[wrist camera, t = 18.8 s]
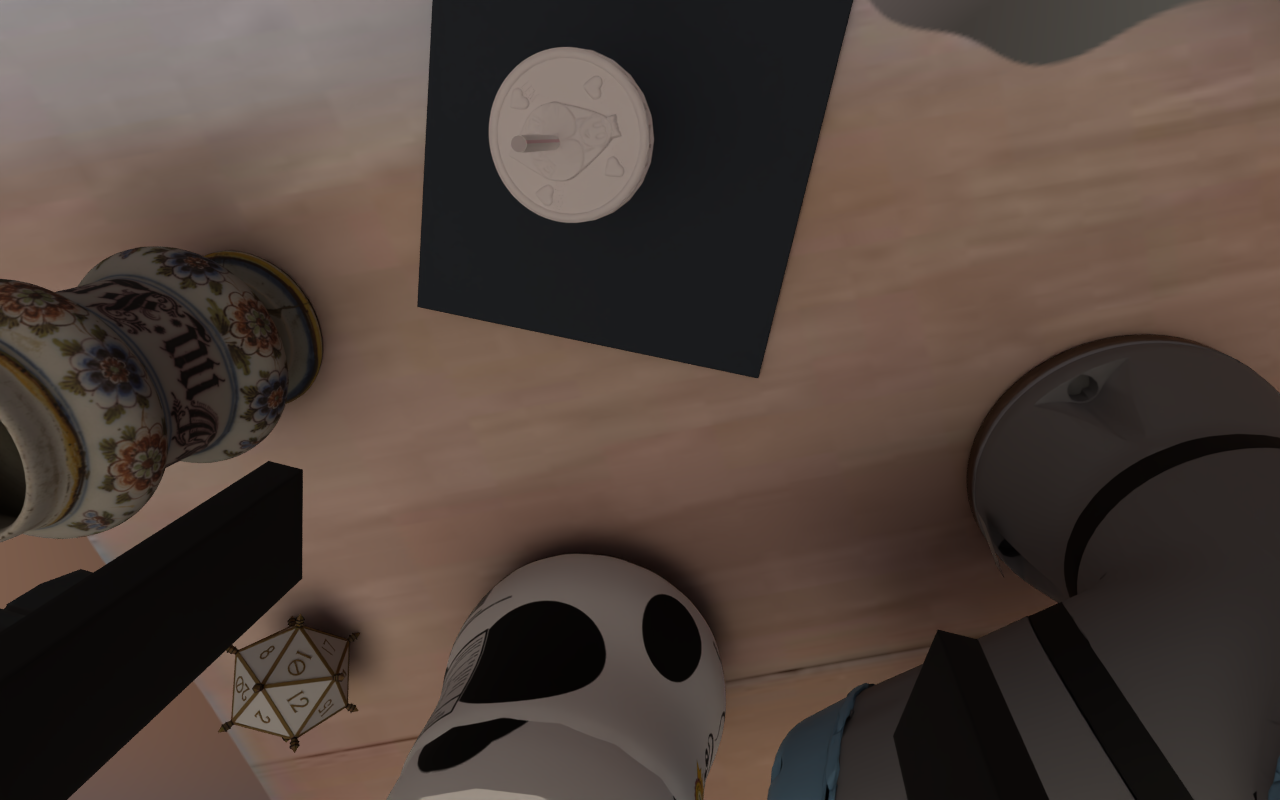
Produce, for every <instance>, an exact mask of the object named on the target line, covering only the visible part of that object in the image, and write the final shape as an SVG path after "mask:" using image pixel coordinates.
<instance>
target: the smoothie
mask: <svg viewBox="0 0 1280 800" xmlns="http://www.w3.org/2000/svg"><path fill="white" fill-rule="evenodd" d="M489 144H490V150H491V154H492V158H493V161H494V164H495V167H496V170H497V172H498V174H499V176H500V178H501V180H502V181H503V183H504V184H505V186H506V187H507V189H508V190H509V191H510V193H511V194H512V195H513V196H514V197H515V198H516V199H517V200H518V201H519V202H520V203H521V204H522V205H524V206H525V207H526V208H528V209H529V210H531V211H532V212H534V213H536V214H538V215H540V216H542V217H544V218H547V219H550V220H553V221H558V222H565V223H579V222H586V221H592V220H596V219H599V218H601V217H604V216H606V215H609V214H611V213H614V212H615V211H616V210H617V209H619V208H620V207H621V206H623V205H624V204H625V203H627V202H628V201H629V200H630V199H631V198H632V196H633V195H634V194H635V192H636V191H637V190H638V188H639V187H640V186H641V184H642V183H643V181H644V178H645V176H646V173H647V171H648V168H649V166H650V164H651V159H652V152H653V145H654V133H653V123H652V116H651V113H650V110H649V107H648V105H647V102H646V99H645V96H644V94H643V92H642V91H641V89H640V88H639V87H638V85H637V84H636V82H635V81H634V79H633V78H632V76H631V75H630V74H629V73H628V72H627V71H625V70H624V69H623V68H622V67H621V66H620V65H619V64H617V63H616V62H615V61H614V60H612V59H610V58H608V57H606V56H604V55H602V54H599V53H597V52H595V51H593V50H586V49H580V48H573V47H558V48H551V49H548V50H544V51H541V52H538V53H536V54H534V55H532V56H530V57H528V58H527V59H525V60H524V61H522V62H521V63H520V64H519V65H517V66H516V67H515V68H514V69H513V70H512V71H511V72H510V74H509V75H508V76H507V77H506V79H505V80H504V82H503V83H502V85H501V86H500V88H499V90H498V92H497V94H496V97H495V99H494V102H493V105H492V109H491V114H490V120H489Z"/></svg>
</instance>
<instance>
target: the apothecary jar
mask: <svg viewBox="0 0 1280 800" xmlns="http://www.w3.org/2000/svg"><path fill="white" fill-rule="evenodd" d="M321 360H322V337H321V332H320V327H319V324H318V320H317V318H316V315H315V313H314V311H313V309H312V307H311V305H310V303H309V301H308V299H307V298H306V296H305V295H304V293H303V292H302V291H301V289H300V288H299V287H298V286H297V285H296V283H295V282H294V281H293V280H292V279H291V278H289V276H287V275H286V274H285V273H284V272H282V271H281V270H280V269H279V268H277V267H276V266H274V265H273V264H271V263H269V262H267V261H266V260H263V259H261V258H259V257H256V256H254V255H251V254H247V253H243V252H237V251H221V252H216V253H211V254H208V255H206V256H201V255H198V254H196V253H193V252H189V251H186V250H181V249H177V248H170V247H139V248H135V249H130V250H126V251H123V252H120V253H117V254H115V255H112V256H110V257H108V258H106V259H105V260H103V261H102V262H100V263H99V264H97V265H96V266H95V267H94V268H93V269H91V270H90V271H89V272H88V274H87V275H86V276H85V277H84V278H83V280H82V281H81V282H80V284H79V285H78V287H75V288H71V289H67V290H62V291H58V292H53V291H50V290H48V289H45V288H42V287H40V286H37V285H33V284H30V283H25V282H20V281H15V280H7V279H0V542H2V541H6V540H8V539H11V538H13V537H16V536H18V535H20V534H26V535H31V536H36V537H43V538H57V539H64V538H65V539H66V538H78V537H85V536H90V535H94V534H98V533H101V532H104V531H106V530H109V529H112V528H114V527H116V526H118V525H120V524H121V523H123V522H125V521H126V520H128V519H129V518H131V517H132V516H133V515H134V514H136V513H137V512H138V511H139V510H140V509H141V508H142V507H143V506H144V505H145V504H146V503H147V502H148V501H149V499H150V498H151V497H152V495H153V494H154V492H155V490H156V489H157V487H158V485H159V483H160V481H161V479H162V476H163V474H164V471H165V468H166V467H169V466H170V465H172V464H174V463H176V462H178V461H183V462H191V463H211V462H218V461H223V460H227V459H230V458H233V457H236V456H239V455H241V454H243V453H245V452H247V451H248V450H250V449H252V448H253V447H255V446H256V445H257V444H259V443H260V442H261V441H262V440H264V439H265V438H266V437H267V436H268V435H269V433H270V432H271V431H272V430H273V428H274V427H275V425H276V424H277V422H278V420H279V419H280V417H281V415H282V412H283V410H284V407H285V404H286V403H289V402H291V401H293V400H295V399H297V398H298V397H300V396H301V395H303V394H304V393H305V392H306V391H307V390H308V389H309V388H310V386H311V385H312V383H313V382H314V380H315V378H316V376H317V374H318V371H319V368H320V365H321Z"/></svg>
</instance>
